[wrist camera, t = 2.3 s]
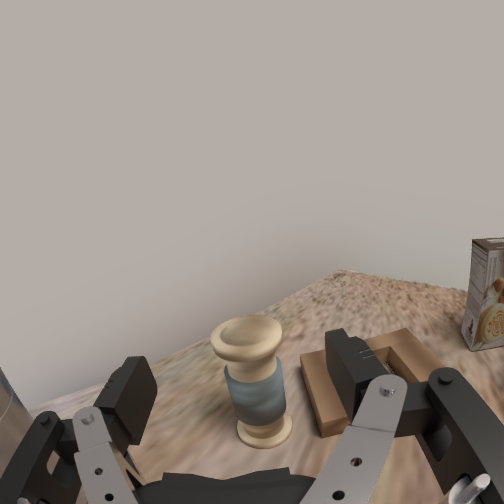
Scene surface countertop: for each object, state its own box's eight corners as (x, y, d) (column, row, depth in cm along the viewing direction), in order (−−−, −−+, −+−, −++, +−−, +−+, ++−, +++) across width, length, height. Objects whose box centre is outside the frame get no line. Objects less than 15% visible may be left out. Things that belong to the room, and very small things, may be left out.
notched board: (321, 438, 23) (322, 422, 23) (301, 370, 36) (300, 354, 35) (447, 392, 24) (453, 375, 23) (403, 343, 36) (405, 327, 35)
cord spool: (238, 451, 23) (207, 356, 20) (238, 413, 29) (213, 319, 26) (295, 444, 23) (286, 345, 20) (288, 407, 29) (276, 310, 26)
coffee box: (499, 325, 30) (513, 236, 27) (512, 344, 25) (533, 246, 21) (459, 331, 34) (471, 237, 30) (469, 352, 28) (489, 249, 24)
